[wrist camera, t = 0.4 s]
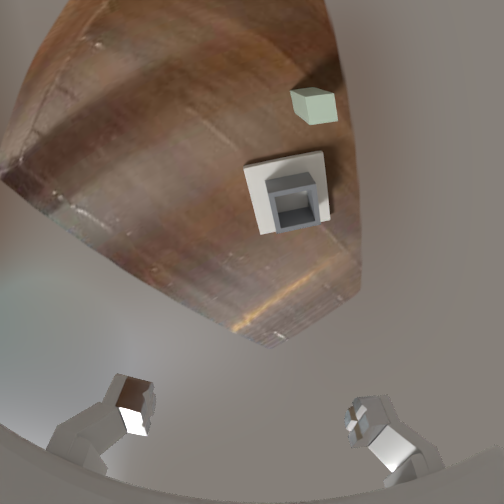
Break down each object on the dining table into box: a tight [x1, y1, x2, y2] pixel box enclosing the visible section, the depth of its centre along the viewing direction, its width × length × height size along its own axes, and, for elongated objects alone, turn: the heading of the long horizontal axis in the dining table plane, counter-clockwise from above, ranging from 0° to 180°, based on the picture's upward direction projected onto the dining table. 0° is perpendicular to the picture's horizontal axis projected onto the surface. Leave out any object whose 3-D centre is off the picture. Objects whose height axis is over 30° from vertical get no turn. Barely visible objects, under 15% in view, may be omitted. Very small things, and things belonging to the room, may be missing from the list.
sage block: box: [290, 87, 338, 125], centre depth 42 cm, size 4×4×12 cm
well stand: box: [243, 151, 330, 235], centre depth 55 cm, size 16×16×8 cm
